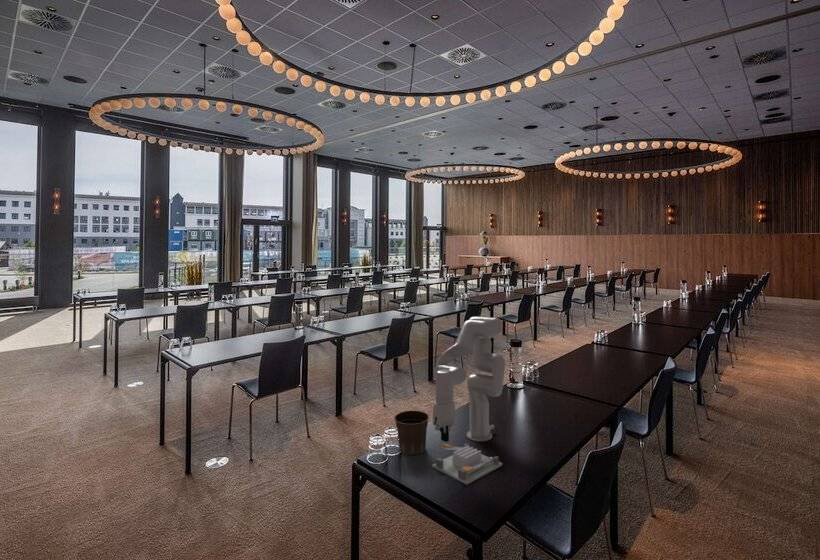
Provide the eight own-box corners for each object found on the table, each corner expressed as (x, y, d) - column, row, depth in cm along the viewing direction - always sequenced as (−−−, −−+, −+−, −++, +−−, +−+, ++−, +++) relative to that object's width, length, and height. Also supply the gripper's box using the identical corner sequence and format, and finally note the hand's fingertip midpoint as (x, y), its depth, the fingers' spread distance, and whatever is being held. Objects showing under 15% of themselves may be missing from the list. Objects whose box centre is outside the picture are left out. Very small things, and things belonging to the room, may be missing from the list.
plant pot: (418, 461, 200) (417, 426, 199) (388, 453, 209) (387, 419, 207) (435, 447, 214) (435, 414, 213) (406, 440, 222) (406, 408, 221)
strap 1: (467, 449, 207) (468, 445, 207) (472, 451, 204) (473, 447, 205) (440, 447, 195) (441, 443, 195) (445, 450, 193) (446, 446, 193)
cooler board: (467, 450, 210) (467, 436, 209) (502, 465, 195) (502, 450, 194) (432, 466, 195) (431, 452, 194) (466, 484, 180) (466, 469, 179)
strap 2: (490, 458, 197) (490, 454, 197) (496, 461, 195) (496, 457, 195) (461, 472, 185) (461, 468, 185) (467, 475, 183) (467, 471, 182)
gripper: (450, 393, 201) (450, 433, 202) (425, 400, 191) (426, 442, 192) (462, 397, 195) (463, 438, 196) (438, 405, 185) (438, 448, 186)
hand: (444, 440), depth 194 cm, fingers closed
